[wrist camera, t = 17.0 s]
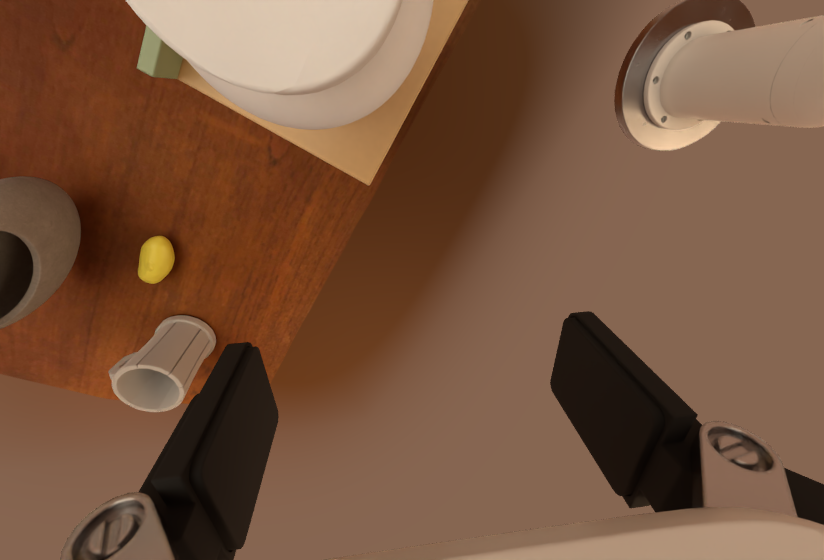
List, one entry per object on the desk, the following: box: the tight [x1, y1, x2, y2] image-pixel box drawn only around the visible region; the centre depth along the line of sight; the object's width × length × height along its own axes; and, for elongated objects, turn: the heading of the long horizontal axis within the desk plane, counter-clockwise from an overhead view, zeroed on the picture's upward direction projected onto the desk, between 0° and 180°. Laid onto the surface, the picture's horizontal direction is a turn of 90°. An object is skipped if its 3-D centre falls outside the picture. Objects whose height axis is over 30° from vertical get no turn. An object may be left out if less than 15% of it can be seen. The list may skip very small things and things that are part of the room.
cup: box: [108, 315, 216, 412], centre depth 52 cm, size 10×9×12 cm
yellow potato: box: [138, 236, 175, 284], centre depth 49 cm, size 4×8×4 cm, turn 147°
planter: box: [0, 177, 81, 329], centre depth 39 cm, size 18×7×19 cm, turn 154°
